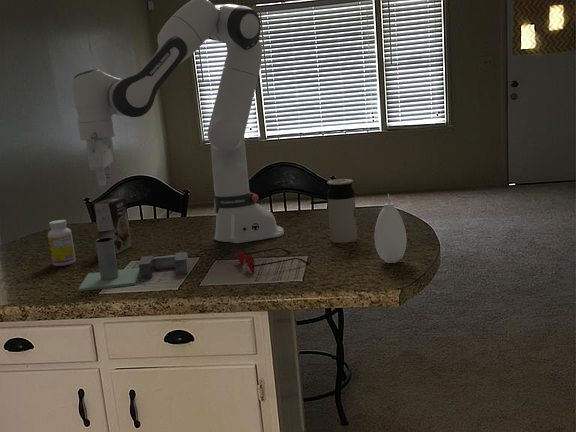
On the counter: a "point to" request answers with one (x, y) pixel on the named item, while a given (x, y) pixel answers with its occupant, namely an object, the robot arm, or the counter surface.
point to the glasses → (250, 264)
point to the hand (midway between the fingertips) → (105, 182)
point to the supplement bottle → (61, 243)
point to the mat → (123, 279)
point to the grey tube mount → (163, 264)
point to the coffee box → (113, 222)
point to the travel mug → (342, 211)
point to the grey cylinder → (107, 258)
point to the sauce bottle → (390, 234)
